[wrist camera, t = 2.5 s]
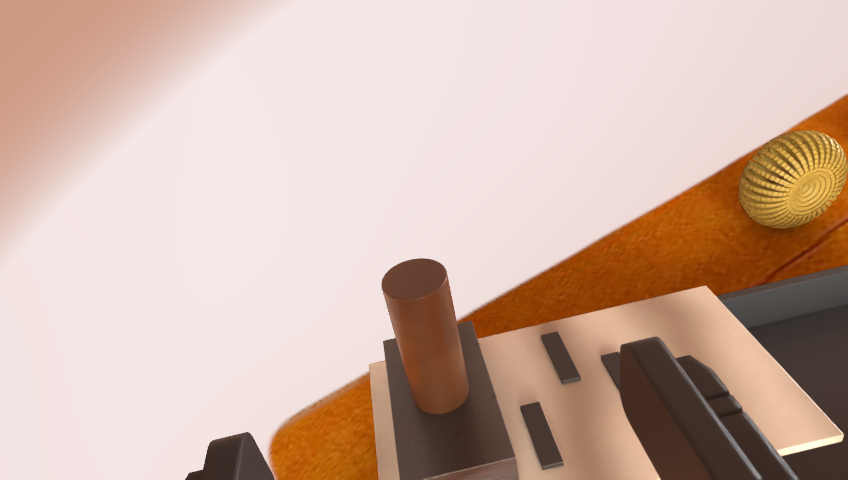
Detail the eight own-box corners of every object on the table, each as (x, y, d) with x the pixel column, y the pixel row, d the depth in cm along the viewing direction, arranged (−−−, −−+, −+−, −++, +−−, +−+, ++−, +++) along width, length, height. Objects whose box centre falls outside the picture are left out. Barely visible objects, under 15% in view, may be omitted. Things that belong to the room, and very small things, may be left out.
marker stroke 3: (630, 411, 28) (630, 407, 28) (600, 359, 31) (600, 355, 31) (649, 406, 28) (650, 402, 28) (618, 355, 31) (618, 350, 31)
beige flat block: (410, 612, 28) (384, 546, 25) (390, 429, 37) (368, 364, 34) (818, 512, 28) (845, 434, 25) (697, 356, 38) (706, 284, 34)
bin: (777, 560, 27) (789, 519, 25) (639, 351, 39) (640, 312, 37) (1127, 474, 27) (1164, 427, 26) (884, 293, 39) (897, 252, 37)
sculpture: (809, 200, 49) (829, 111, 45) (847, 223, 46) (872, 130, 42) (722, 223, 49) (733, 136, 44) (754, 248, 45) (769, 157, 41)
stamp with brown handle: (411, 517, 26) (361, 368, 20) (391, 371, 33) (351, 235, 28) (521, 490, 26) (498, 335, 21) (476, 351, 33) (452, 212, 28)
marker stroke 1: (562, 385, 30) (562, 380, 30) (541, 338, 33) (540, 334, 33) (581, 380, 30) (580, 376, 30) (557, 334, 33) (557, 330, 33)
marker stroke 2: (542, 470, 26) (542, 466, 26) (520, 409, 29) (519, 405, 29) (563, 465, 26) (563, 461, 26) (539, 405, 29) (539, 401, 29)
